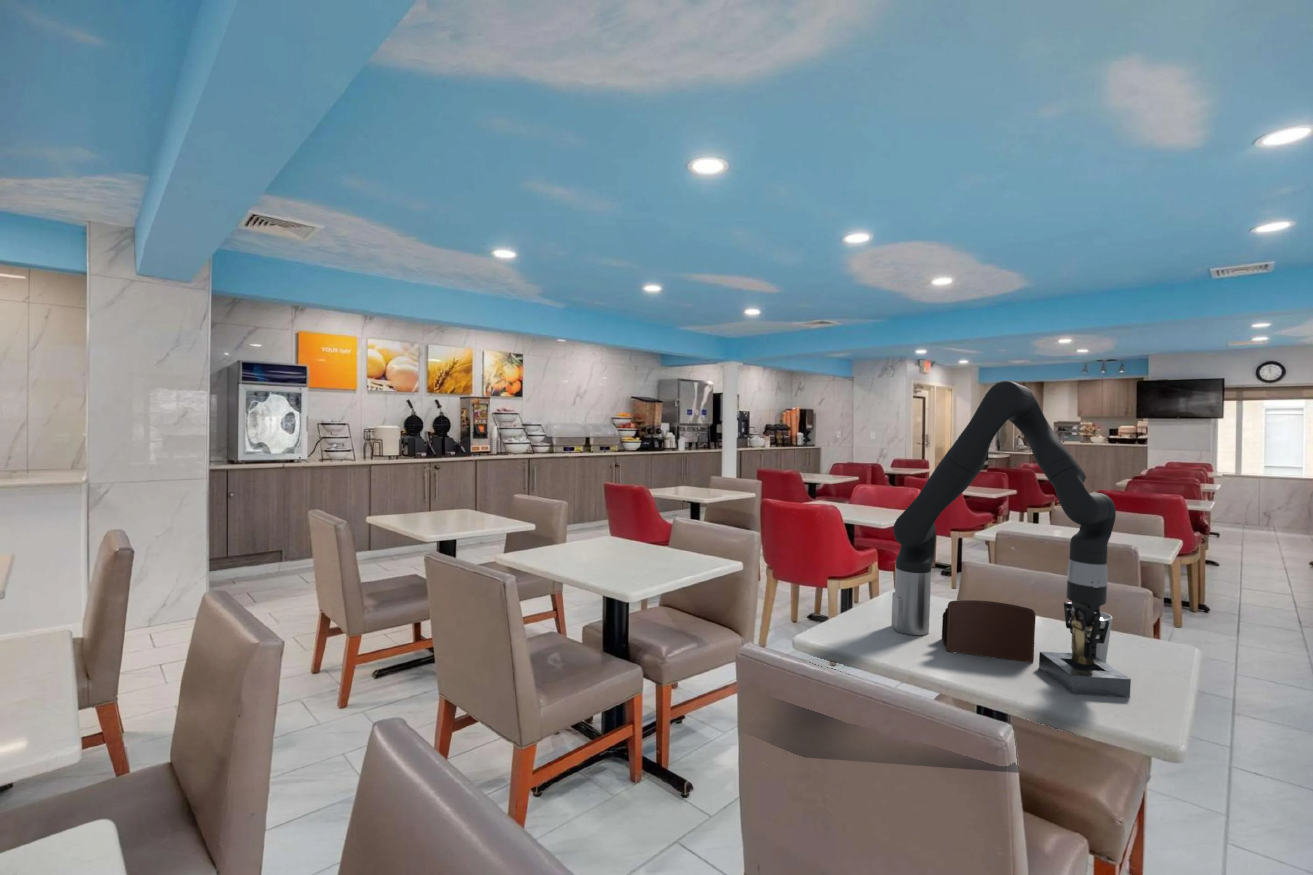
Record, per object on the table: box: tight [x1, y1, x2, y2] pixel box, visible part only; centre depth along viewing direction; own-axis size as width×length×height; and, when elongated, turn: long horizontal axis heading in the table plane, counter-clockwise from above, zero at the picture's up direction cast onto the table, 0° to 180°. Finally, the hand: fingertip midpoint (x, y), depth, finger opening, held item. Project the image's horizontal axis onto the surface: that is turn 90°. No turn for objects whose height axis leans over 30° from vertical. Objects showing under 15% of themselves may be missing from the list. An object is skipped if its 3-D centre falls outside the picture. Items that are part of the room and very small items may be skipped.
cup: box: [1096, 611, 1113, 663], centre depth 156 cm, size 8×8×12 cm
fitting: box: [1071, 620, 1095, 665], centre depth 144 cm, size 5×5×9 cm
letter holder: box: [941, 599, 1037, 664], centre depth 162 cm, size 10×20×14 cm, turn 72°
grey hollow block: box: [1038, 651, 1132, 698], centre depth 144 cm, size 12×14×4 cm
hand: (1083, 654), depth 144 cm, fingers closed on fitting, 4 cm apart
